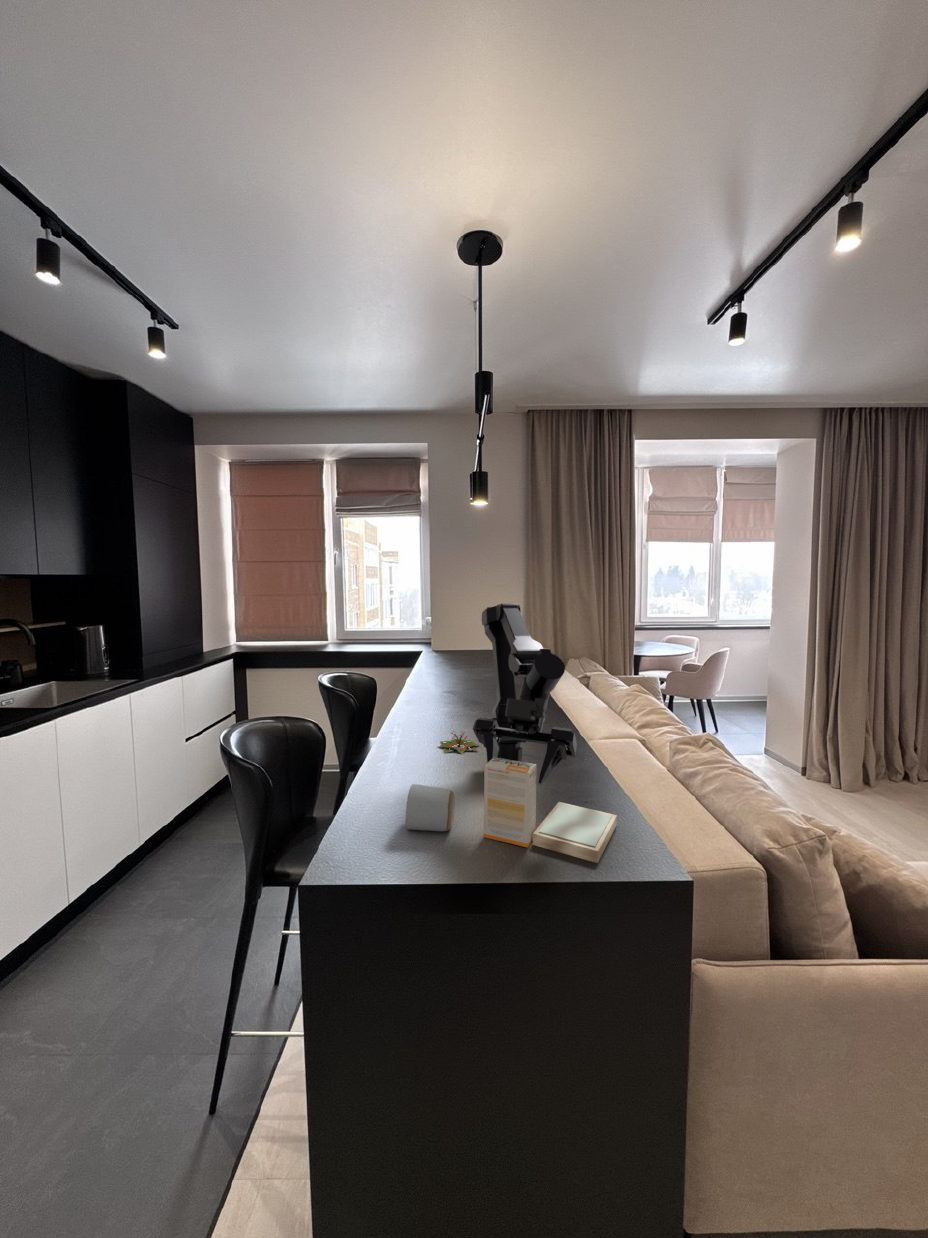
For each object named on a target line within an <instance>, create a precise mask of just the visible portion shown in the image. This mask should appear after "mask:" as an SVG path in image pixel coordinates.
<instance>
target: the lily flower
mask: <svg viewBox="0 0 928 1238" xmlns="http://www.w3.org/2000/svg"><path fill="white" fill-rule="evenodd" d="M465 733H466V731H461V733H460V734H458V735H457V734H456V733H455V732H454V730H452V732H450V734H452V735H453V736H452V737H451V740H444V741H440V743H441V744H440V745H439V746H438V747H436V749H437V748H444V750H443V753H444V754H446V753H450V752H453V750H450V751H449V748H451V749H454V750H457V751H456V752H458V753H460V754H461V755H463V754H464V752H465V751H467V752H468V751H469V752H471V751H472V750H475V751H474V752H478V749H477V748H476V746H478V745H479V744H477V743H476V742H473V740H472V741H471V739H467V738H468V736H467V735H466V736H465ZM464 736H465V737H464ZM463 737H464V738H463ZM467 741H471V742H467ZM443 742H446V743H443ZM464 742H466V743H464ZM457 744H459V745H457ZM454 745H457V747H455V746H454ZM460 745H464V746H465V747H464V748H463V747H461V746H460ZM452 746H454V747H452ZM474 746H475V747H474ZM467 747H470V748H471V749H472V750H469V749H468V748H467ZM457 748H458V749H457ZM472 752H473V751H472Z"/></svg>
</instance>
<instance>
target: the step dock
mask: <svg viewBox="0 0 928 1238" xmlns="http://www.w3.org/2000/svg"><path fill="white" fill-rule="evenodd" d="M617 821H618V815H617V814H613V813H609V812H605V811H600V810H595V809H591V808H588V807H582V806H579V805H573V804H569V803H566V802H563V801H562V802H561V801H558V802H557V803H556V805H555V806H554V807H553V809H551V810H550V812H549V813H548V814H547V816H545V818H544V819H543V821H542V822H541V823H540V824H539V825H538V827H537V828H535V832H534V833H533V840H532V846H536V847H540V848H543V849H546V850H550V851H553V852H557V853H560V854H564V855H568V856H571V857H575V858H578V859H582V860H585V861H589V862H592V863H595V864H599V861H600V860H601V858H602V855H603V854H604V851H605V850H606V847H607V846H608V843H609V842H610V840H611V837H612V835H613V834H614V831H615V829H616V828H617V823H618V822H617Z"/></svg>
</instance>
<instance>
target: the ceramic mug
mask: <svg viewBox="0 0 928 1238" xmlns="http://www.w3.org/2000/svg"><path fill="white" fill-rule="evenodd" d="M406 800H407V801H406V807H405V828H406V829H407V830H411V831H427V832H428V831H430V832H447V831H450V830H451V829H452V828H453V824H454V823H453V822H454V817H455V805H456V804H455V801H456V794H455V792H454V791H453V790H451V789H449V788H445V787H436V786H430V785H429V786H428V785H422V784H421V785H420V784H415V783H413V784H411V786H410V788H409V790H408V793H407V798H406Z"/></svg>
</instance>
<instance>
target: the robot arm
mask: <svg viewBox="0 0 928 1238" xmlns="http://www.w3.org/2000/svg"><path fill="white" fill-rule="evenodd" d="M521 611H522V610H521V606H520V604H519V603H518V604H517V603H516V602H514V603H513V602H512V603H510V602H508V603H507V602H506V603H505V602H504V603H503V602H502V603H499V604H497V605H494V606H487V607H486V608H485V609H484V610H483V611H482V612H481V625H482V626H483V628H484V634H485V636H486V637H487V639H488V640H489V641H490V643H491V644H492V657H493V658H492V659H493V667H494V678H495V679H494V681H495V693H496V702H495V704H494V707H493V709H492V711H491V713H490V715H491V717H490V718H487V717H486V718H485V717H479V718H477V719H475V721H474V723H473V725H472V726H473V728H472V730H473V733H474V735H475V737H476V739H477V740H478V742H479V743H480V744H482V745H483V747H484V748H485V751H486V762H487V763H488V762H489V761H490V760H491V759H492V758H494V757H496V758H502V759H508V760H513V761H520V762H523V748H522V747H521V746H522V745H521V743H522V744H523V743H524V744H525V743H526V742H528V743H536V744H543V745H546V753H545V755H544V756H545V757H544V759H543V763H542V765H541V769H540V773H539V779H538V785H539V786H543V784H544V783H545V781H546V780H547V778H548V777H549V775H551V773H552V771H554V769H555V768H556V767H558V765H559V764H560V762H561V761H563V760H564V761H566V760H569V759H568V758H569V757H570V758H571V757H572V758H573V757H576V754H577V749H578V742H577V736H576V733H575V732H574V730H573V729H572V728H564V727H557V726H553V727H552V728H551V732H550V733H548V732H547V733H546V732H542V730H543V725H544V723H545V721H546V717H547V710H548V703H549V702H548V701H549V698H550V693H551V692H552V691H554V690H555V688H556V686H557V685H558V683H559V682H560V680H561V679H562V678H563V675H564V674H565V670H566V666H565V663H564V661H563V660H562V658H560V657H559V656H557V655H556V654H554V653H552V651H551V648H544V647H543V645H542V644H541V643H540V642H539V641H537V640H535V639H533V638H532V636H531V634H530V632H529V630H528V627H527V624H526V622H525V621H524V619H523V618H524V617H523V615H522V614H521ZM515 677H524V678H523V679H522V683H521V686H520V690H519V694H518V698H517V695H516V691H517V690H516V683H515ZM487 763H486V764H487Z"/></svg>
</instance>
